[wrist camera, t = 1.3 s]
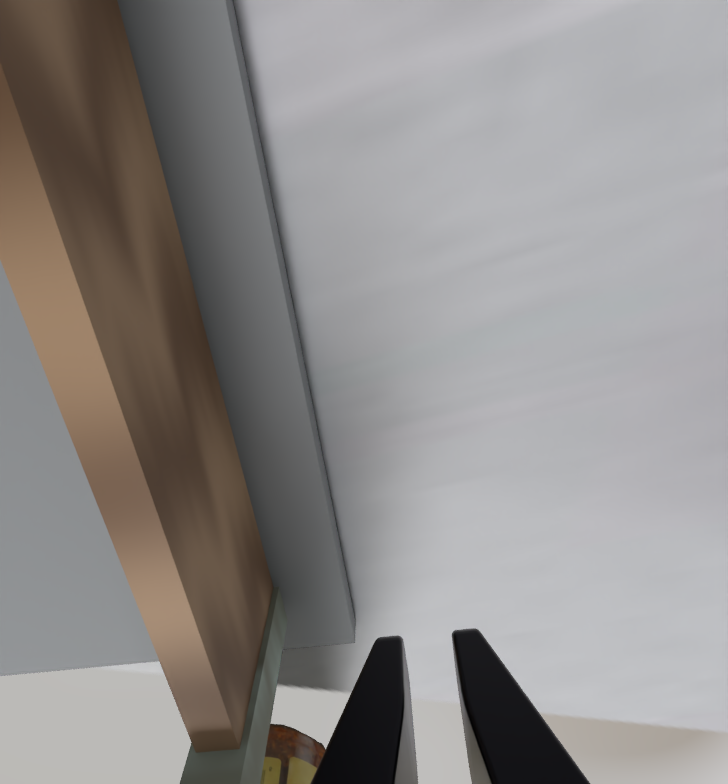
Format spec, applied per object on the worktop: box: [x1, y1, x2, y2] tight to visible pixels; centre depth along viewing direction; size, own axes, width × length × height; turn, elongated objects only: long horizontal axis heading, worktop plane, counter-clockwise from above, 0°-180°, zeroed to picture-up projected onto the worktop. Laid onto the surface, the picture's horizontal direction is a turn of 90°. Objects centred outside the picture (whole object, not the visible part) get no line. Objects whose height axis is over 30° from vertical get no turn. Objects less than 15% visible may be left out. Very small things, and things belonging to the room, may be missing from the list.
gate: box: [0, 0, 288, 784], centre depth 14 cm, size 22×2×7 cm, turn 8°
